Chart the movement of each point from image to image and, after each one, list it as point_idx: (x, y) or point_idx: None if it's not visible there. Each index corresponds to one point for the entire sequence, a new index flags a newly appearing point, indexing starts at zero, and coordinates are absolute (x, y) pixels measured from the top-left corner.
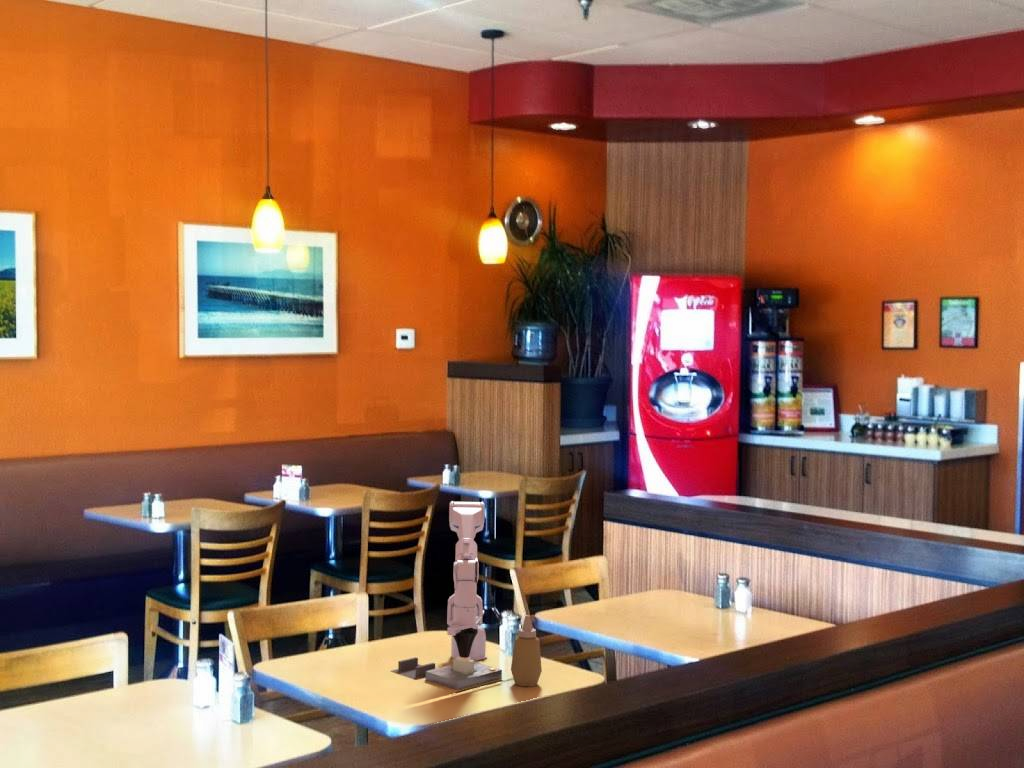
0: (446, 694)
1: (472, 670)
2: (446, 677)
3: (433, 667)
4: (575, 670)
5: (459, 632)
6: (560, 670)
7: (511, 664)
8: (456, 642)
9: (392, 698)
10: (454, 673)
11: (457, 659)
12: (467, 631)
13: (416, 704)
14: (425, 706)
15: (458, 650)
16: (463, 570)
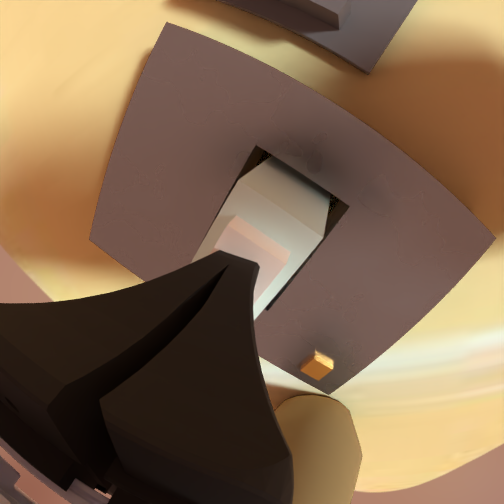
0: (94, 186)
1: None
2: (110, 176)
3: (323, 13)
4: (448, 469)
5: (4, 407)
6: (454, 453)
7: (298, 443)
8: (116, 295)
9: (22, 47)
10: (184, 196)
11: (227, 221)
12: (97, 484)
13: (10, 138)
14: (10, 168)
15: (186, 266)
16: None
